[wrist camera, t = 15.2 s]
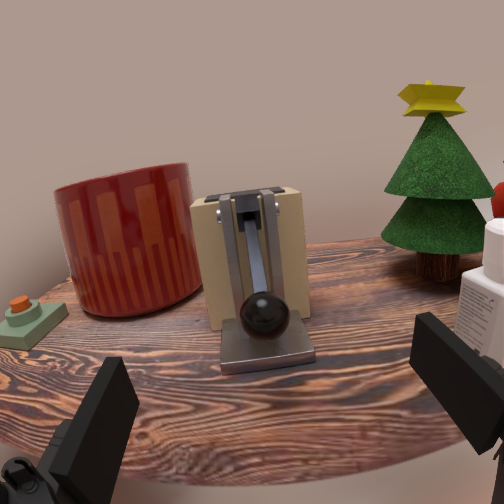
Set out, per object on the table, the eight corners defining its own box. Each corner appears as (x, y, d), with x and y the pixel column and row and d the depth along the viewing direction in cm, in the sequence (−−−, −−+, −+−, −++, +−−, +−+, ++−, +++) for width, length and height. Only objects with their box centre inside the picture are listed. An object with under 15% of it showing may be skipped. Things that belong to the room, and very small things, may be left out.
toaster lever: (293, 346, 22) (295, 319, 20) (244, 353, 22) (238, 327, 20) (265, 215, 33) (263, 186, 30) (230, 220, 33) (226, 191, 30)
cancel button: (22, 314, 37) (18, 304, 37) (9, 314, 38) (5, 304, 37) (35, 305, 41) (32, 295, 40) (21, 305, 41) (18, 295, 41)
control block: (28, 350, 34) (18, 325, 33) (-9, 345, 35) (-18, 323, 34) (68, 314, 46) (61, 292, 45) (30, 314, 46) (24, 294, 45)
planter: (205, 262, 65) (190, 163, 59) (210, 310, 43) (185, 159, 37) (101, 279, 62) (81, 185, 56) (62, 330, 40) (26, 196, 34)
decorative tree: (389, 303, 38) (374, 59, 29) (375, 256, 55) (362, 90, 47) (511, 293, 32) (508, 71, 24) (467, 252, 50) (460, 92, 42)
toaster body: (310, 317, 38) (300, 189, 33) (211, 331, 37) (188, 204, 33) (298, 292, 45) (288, 184, 41) (215, 303, 45) (197, 196, 41)
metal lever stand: (315, 362, 29) (305, 194, 24) (222, 375, 29) (190, 209, 24) (294, 308, 40) (282, 184, 36) (224, 318, 40) (204, 194, 36)
